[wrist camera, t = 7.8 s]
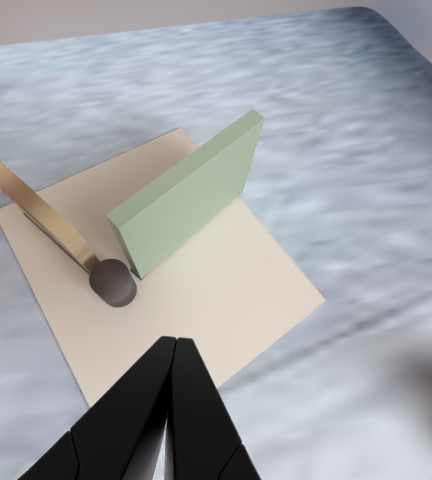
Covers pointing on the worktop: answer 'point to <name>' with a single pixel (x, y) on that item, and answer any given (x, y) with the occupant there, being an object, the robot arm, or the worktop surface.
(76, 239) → the tan dark-tipped bar
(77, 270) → the card
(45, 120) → the worktop surface
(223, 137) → the fence panel
